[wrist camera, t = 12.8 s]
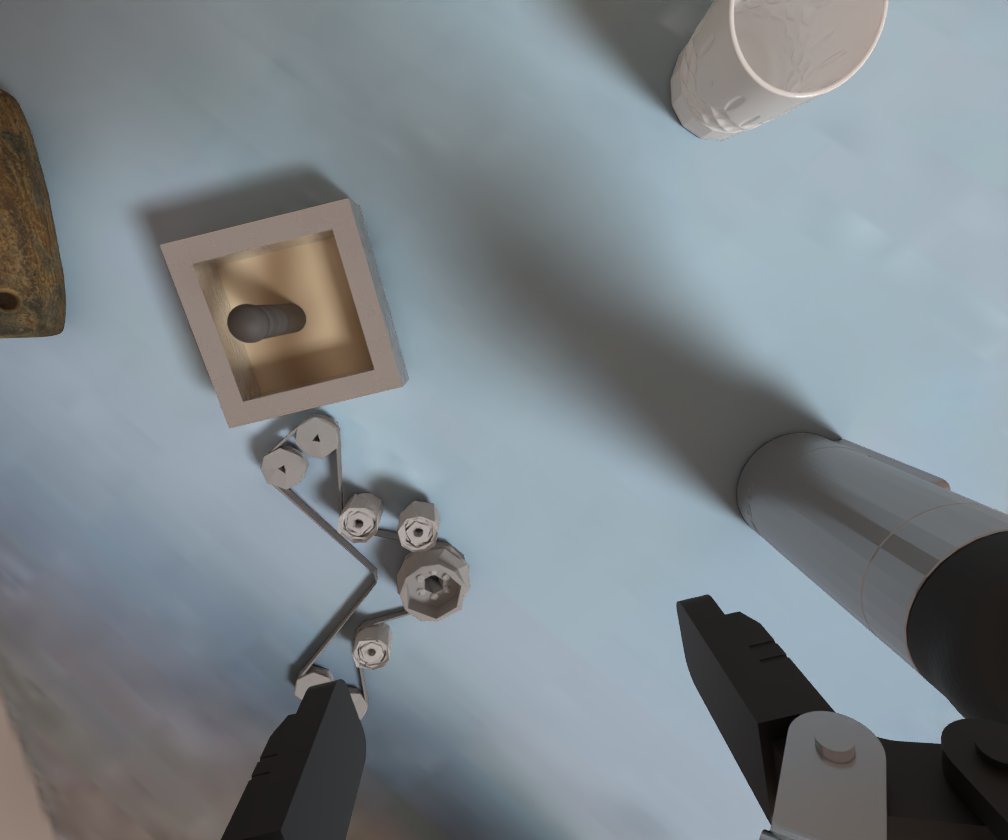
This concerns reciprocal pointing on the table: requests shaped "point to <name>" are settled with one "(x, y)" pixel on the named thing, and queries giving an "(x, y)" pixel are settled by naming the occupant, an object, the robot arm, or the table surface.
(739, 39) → the white cup
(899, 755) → the robot arm
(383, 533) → the pulley system
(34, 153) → the brown cylinder
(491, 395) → the table surface
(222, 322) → the link
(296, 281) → the wooden board with peg
